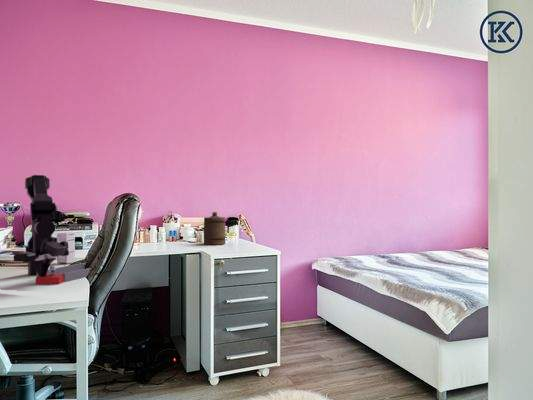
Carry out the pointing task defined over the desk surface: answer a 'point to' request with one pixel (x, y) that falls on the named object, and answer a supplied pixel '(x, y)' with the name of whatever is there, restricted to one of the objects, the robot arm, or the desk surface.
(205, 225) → the wooden container
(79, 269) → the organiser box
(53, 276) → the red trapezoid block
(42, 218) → the robot arm
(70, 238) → the syrup box
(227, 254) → the desk surface
